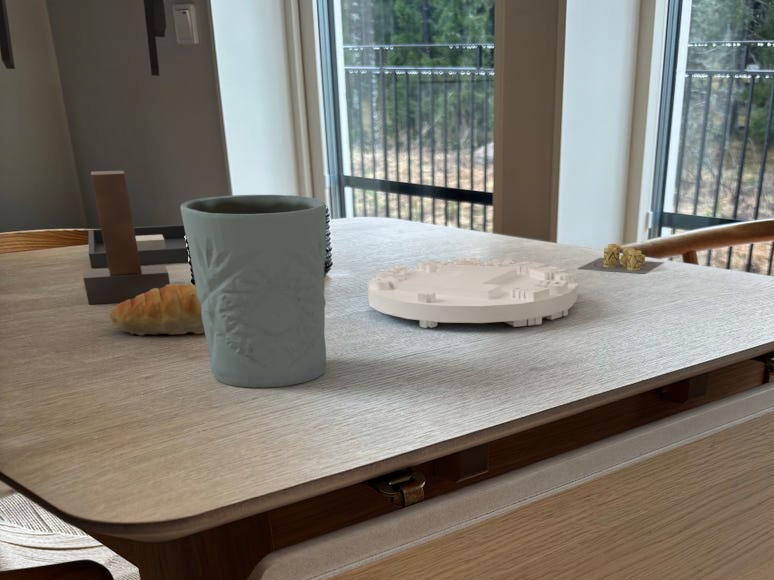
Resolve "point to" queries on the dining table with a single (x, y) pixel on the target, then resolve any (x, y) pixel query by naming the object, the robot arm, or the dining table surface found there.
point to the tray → (171, 254)
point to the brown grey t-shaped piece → (119, 247)
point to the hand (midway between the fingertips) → (83, 68)
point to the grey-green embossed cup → (260, 286)
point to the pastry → (161, 312)
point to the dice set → (622, 261)
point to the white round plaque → (473, 292)
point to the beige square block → (150, 242)
